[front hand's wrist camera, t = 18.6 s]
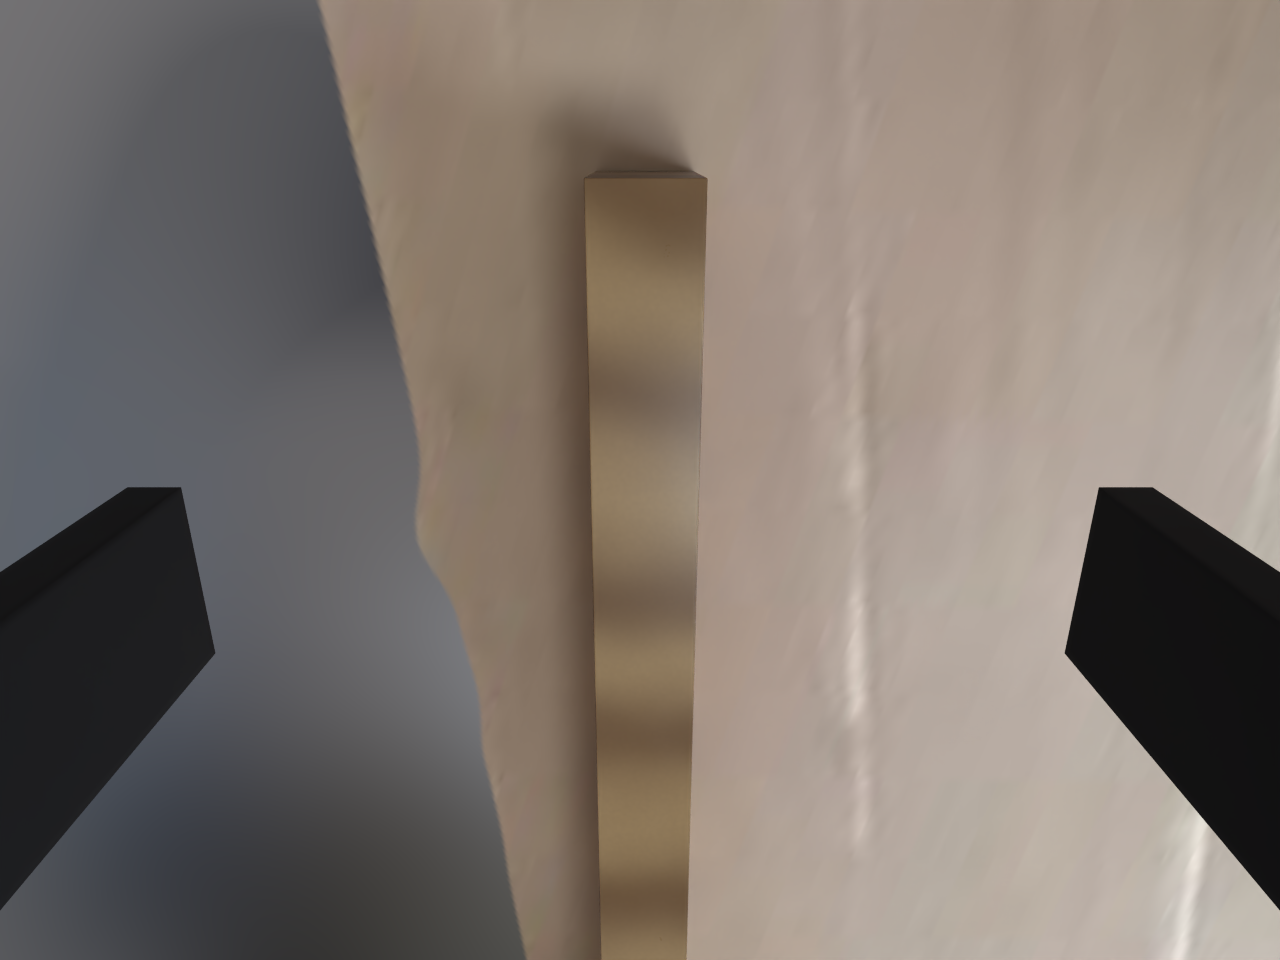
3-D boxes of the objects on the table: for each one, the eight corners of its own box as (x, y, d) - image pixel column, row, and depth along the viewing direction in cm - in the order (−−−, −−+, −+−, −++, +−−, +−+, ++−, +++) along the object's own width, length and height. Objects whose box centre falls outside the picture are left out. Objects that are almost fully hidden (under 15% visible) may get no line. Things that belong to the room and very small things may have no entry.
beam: (595, 171, 39) (583, 177, 32) (694, 171, 39) (707, 177, 32) (612, 1166, 65) (608, 1304, 57) (672, 1166, 65) (676, 1304, 57)
